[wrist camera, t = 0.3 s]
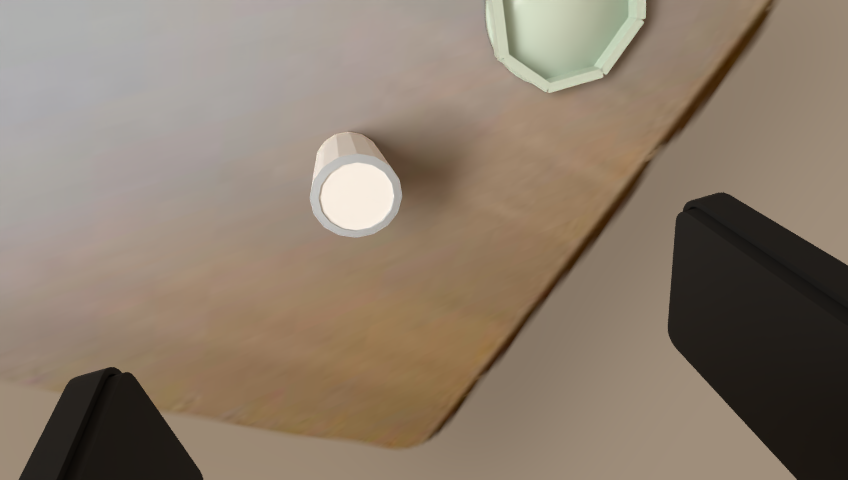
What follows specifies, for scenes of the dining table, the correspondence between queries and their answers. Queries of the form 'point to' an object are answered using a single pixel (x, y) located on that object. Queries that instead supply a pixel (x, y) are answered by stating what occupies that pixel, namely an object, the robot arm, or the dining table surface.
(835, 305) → the robot arm
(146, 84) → the dining table surface
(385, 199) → the white cylinder
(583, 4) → the dish
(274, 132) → the dining table surface
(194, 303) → the dining table surface
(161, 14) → the dining table surface
